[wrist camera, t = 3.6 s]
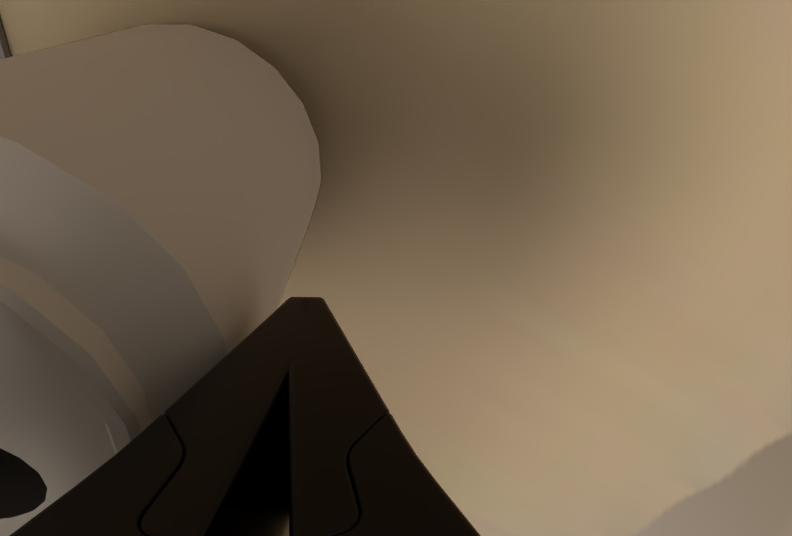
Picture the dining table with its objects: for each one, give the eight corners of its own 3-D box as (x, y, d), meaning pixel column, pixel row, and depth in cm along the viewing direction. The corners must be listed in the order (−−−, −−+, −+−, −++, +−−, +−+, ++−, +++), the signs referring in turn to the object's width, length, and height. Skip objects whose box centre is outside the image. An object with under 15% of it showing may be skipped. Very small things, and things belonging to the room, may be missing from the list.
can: (91, 242, 18) (-320, 609, 8) (63, -4, 15) (-756, 78, 4) (314, 274, 19) (200, 662, 8) (337, 45, 15) (192, 223, 5)
